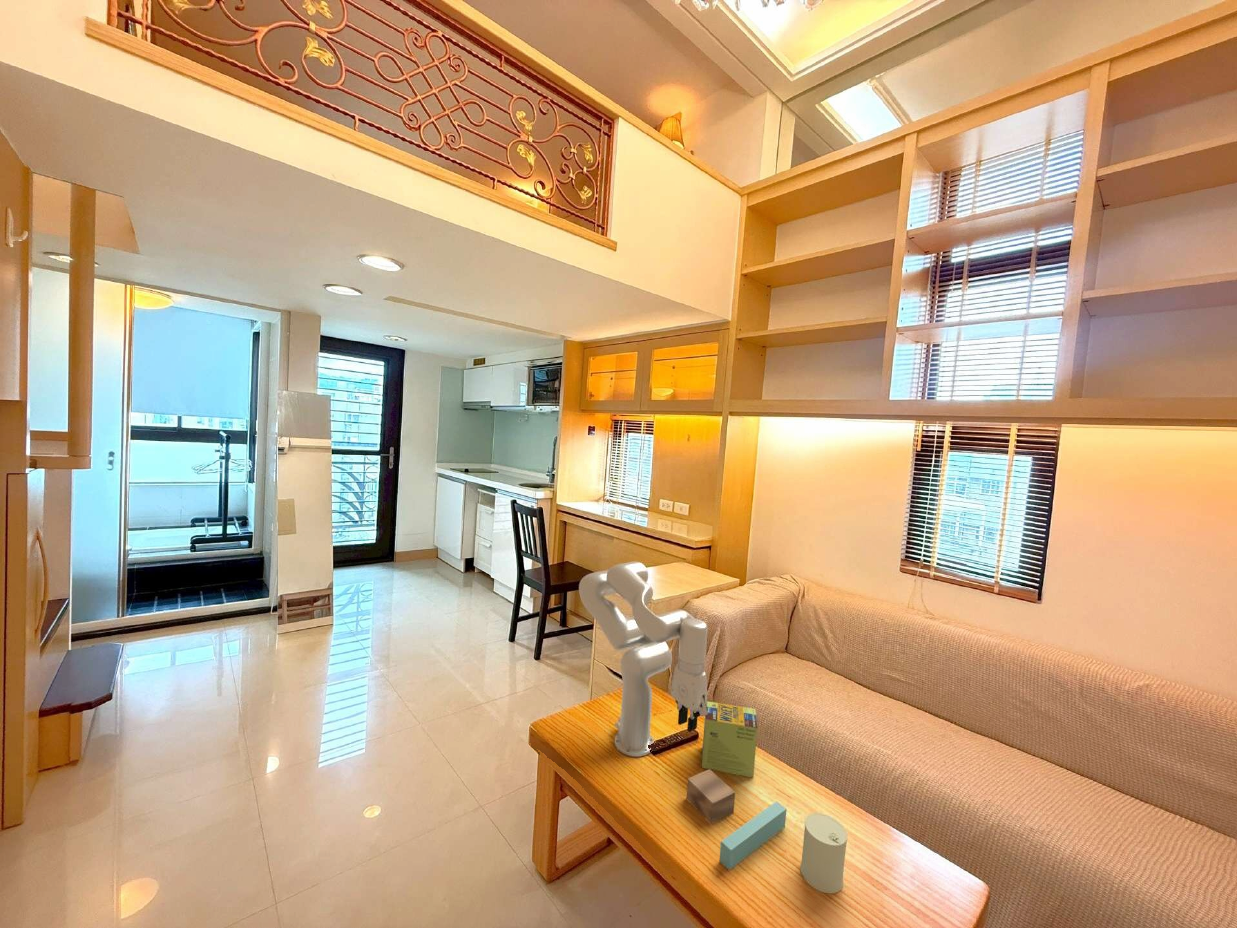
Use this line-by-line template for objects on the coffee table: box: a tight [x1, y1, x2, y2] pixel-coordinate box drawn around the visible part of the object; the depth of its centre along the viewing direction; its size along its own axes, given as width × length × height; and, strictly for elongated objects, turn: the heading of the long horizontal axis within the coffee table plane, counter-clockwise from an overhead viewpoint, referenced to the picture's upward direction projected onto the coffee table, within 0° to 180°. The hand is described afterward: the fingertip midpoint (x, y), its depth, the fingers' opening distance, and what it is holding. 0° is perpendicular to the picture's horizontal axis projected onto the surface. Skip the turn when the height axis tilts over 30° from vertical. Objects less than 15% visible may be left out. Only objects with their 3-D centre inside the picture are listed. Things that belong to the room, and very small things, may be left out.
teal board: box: [719, 801, 787, 871], centre depth 122 cm, size 3×22×5 cm, turn 128°
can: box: [799, 812, 848, 894], centre depth 114 cm, size 9×9×12 cm
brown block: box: [685, 769, 736, 825], centre depth 133 cm, size 10×8×6 cm
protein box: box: [701, 700, 759, 778], centre depth 151 cm, size 10×15×16 cm
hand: (687, 725), depth 140 cm, fingers open, 3 cm apart
